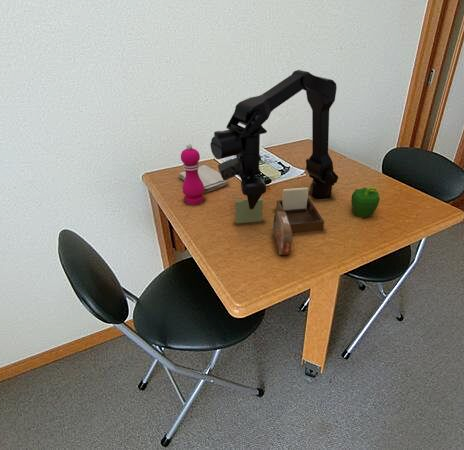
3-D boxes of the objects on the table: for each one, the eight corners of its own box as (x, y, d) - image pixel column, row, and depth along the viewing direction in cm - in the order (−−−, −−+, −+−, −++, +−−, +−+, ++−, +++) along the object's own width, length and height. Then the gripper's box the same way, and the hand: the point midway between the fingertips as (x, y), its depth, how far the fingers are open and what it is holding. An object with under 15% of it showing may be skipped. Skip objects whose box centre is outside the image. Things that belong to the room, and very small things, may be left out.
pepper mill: (201, 206, 113) (196, 149, 102) (180, 204, 114) (173, 147, 103) (207, 196, 119) (203, 141, 108) (188, 194, 120) (182, 139, 109)
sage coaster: (235, 223, 104) (235, 200, 100) (261, 220, 106) (262, 198, 101) (236, 225, 104) (236, 202, 99) (261, 222, 105) (262, 200, 100)
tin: (272, 229, 102) (273, 205, 97) (282, 229, 102) (284, 204, 97) (280, 261, 89) (281, 235, 85) (291, 261, 90) (294, 234, 85)
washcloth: (203, 195, 119) (202, 187, 118) (177, 178, 131) (176, 170, 129) (230, 185, 126) (230, 178, 124) (203, 170, 137) (203, 162, 135)
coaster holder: (276, 210, 111) (276, 200, 109) (307, 207, 113) (308, 197, 111) (287, 235, 99) (288, 224, 97) (322, 232, 101) (324, 221, 99)
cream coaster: (281, 211, 110) (283, 189, 105) (305, 209, 111) (307, 187, 106) (282, 212, 109) (283, 190, 104) (306, 210, 110) (308, 188, 106)
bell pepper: (344, 214, 109) (349, 187, 104) (355, 205, 114) (360, 178, 109) (368, 224, 105) (375, 195, 99) (379, 213, 110) (386, 186, 104)
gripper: (216, 140, 98) (218, 188, 107) (223, 166, 83) (225, 220, 91) (253, 138, 100) (253, 186, 108) (267, 163, 85) (265, 216, 93)
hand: (248, 201), depth 100 cm, fingers open, 9 cm apart
